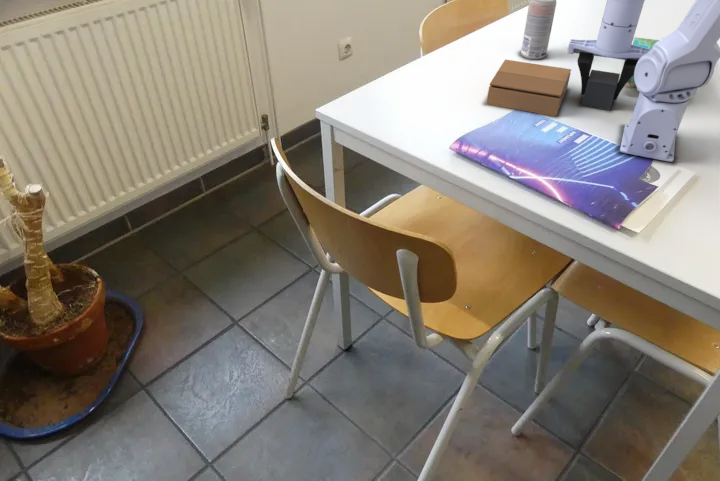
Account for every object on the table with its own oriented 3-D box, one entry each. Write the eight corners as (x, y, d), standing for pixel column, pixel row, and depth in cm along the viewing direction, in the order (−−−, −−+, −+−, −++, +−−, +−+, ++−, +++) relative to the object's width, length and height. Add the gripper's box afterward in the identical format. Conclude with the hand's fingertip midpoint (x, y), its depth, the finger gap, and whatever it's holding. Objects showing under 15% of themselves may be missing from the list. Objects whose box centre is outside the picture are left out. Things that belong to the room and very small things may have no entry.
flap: (560, 96, 98) (560, 95, 98) (489, 85, 102) (489, 83, 102) (565, 83, 102) (566, 81, 102) (497, 72, 106) (497, 71, 106)
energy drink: (544, 50, 123) (555, -7, 115) (547, 60, 119) (559, 2, 111) (519, 49, 123) (528, -7, 116) (522, 59, 119) (532, 2, 112)
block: (609, 110, 102) (617, 84, 98) (581, 105, 103) (587, 80, 100) (612, 98, 105) (620, 73, 102) (585, 94, 107) (591, 69, 103)
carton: (556, 116, 101) (560, 95, 98) (486, 104, 105) (489, 83, 102) (566, 89, 108) (571, 69, 106) (502, 78, 113) (504, 59, 110)
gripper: (667, 18, 95) (642, 92, 104) (579, 8, 99) (562, 80, 108) (665, 33, 90) (639, 109, 99) (572, 21, 95) (556, 95, 104)
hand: (599, 95), depth 103 cm, fingers closed on block, 5 cm apart
